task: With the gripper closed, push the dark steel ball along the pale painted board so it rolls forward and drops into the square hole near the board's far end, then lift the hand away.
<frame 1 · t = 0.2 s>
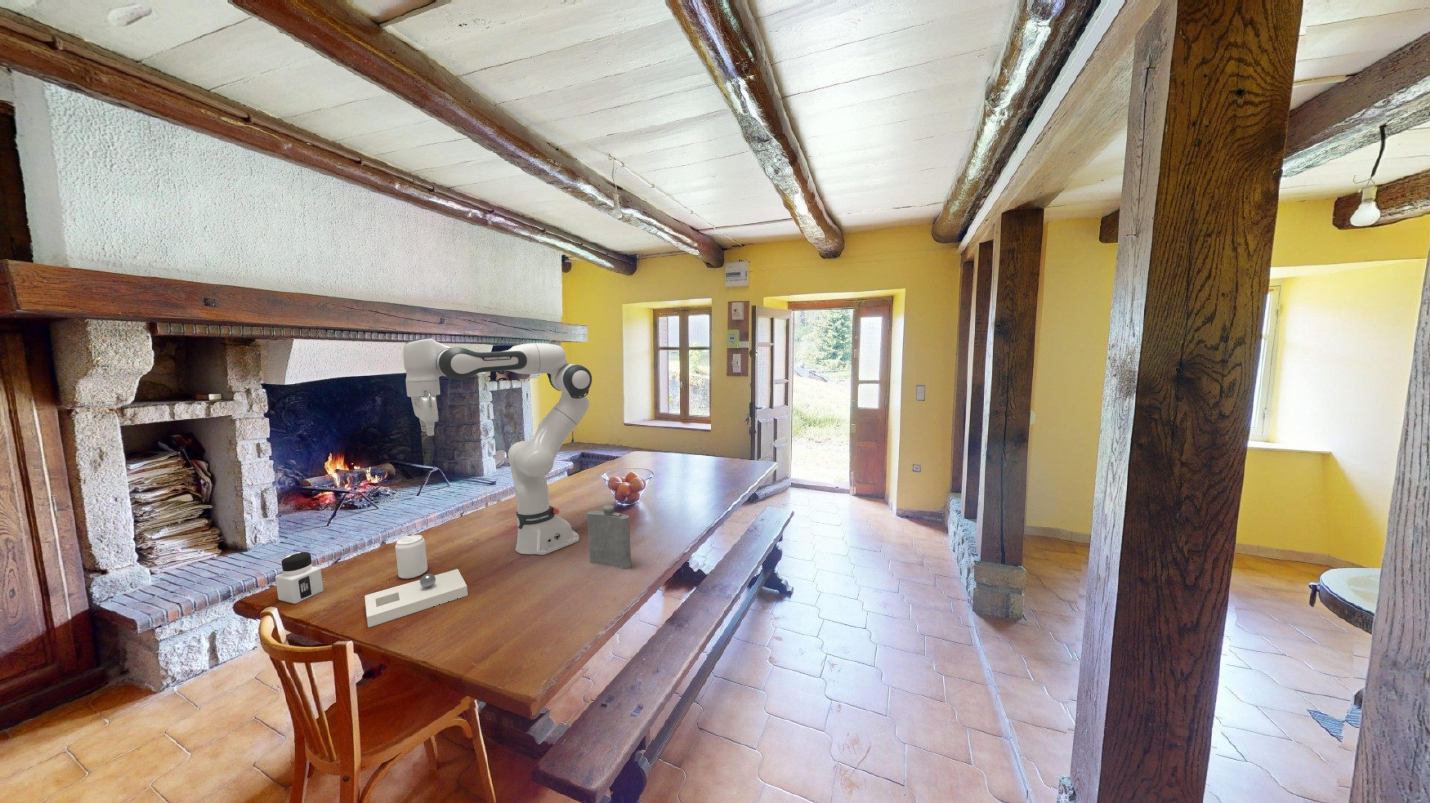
hand: (428, 433, 145), 47 cm above the table, tool pointing down, fingers open, 8 cm apart
container: (301, 596, 139), on the table
steel ball: (427, 580, 136), point 5 cm above the table, touching hole board
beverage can: (413, 574, 151), on the table
hip flask: (611, 563, 156), on the table
hole board: (417, 600, 135), on the table
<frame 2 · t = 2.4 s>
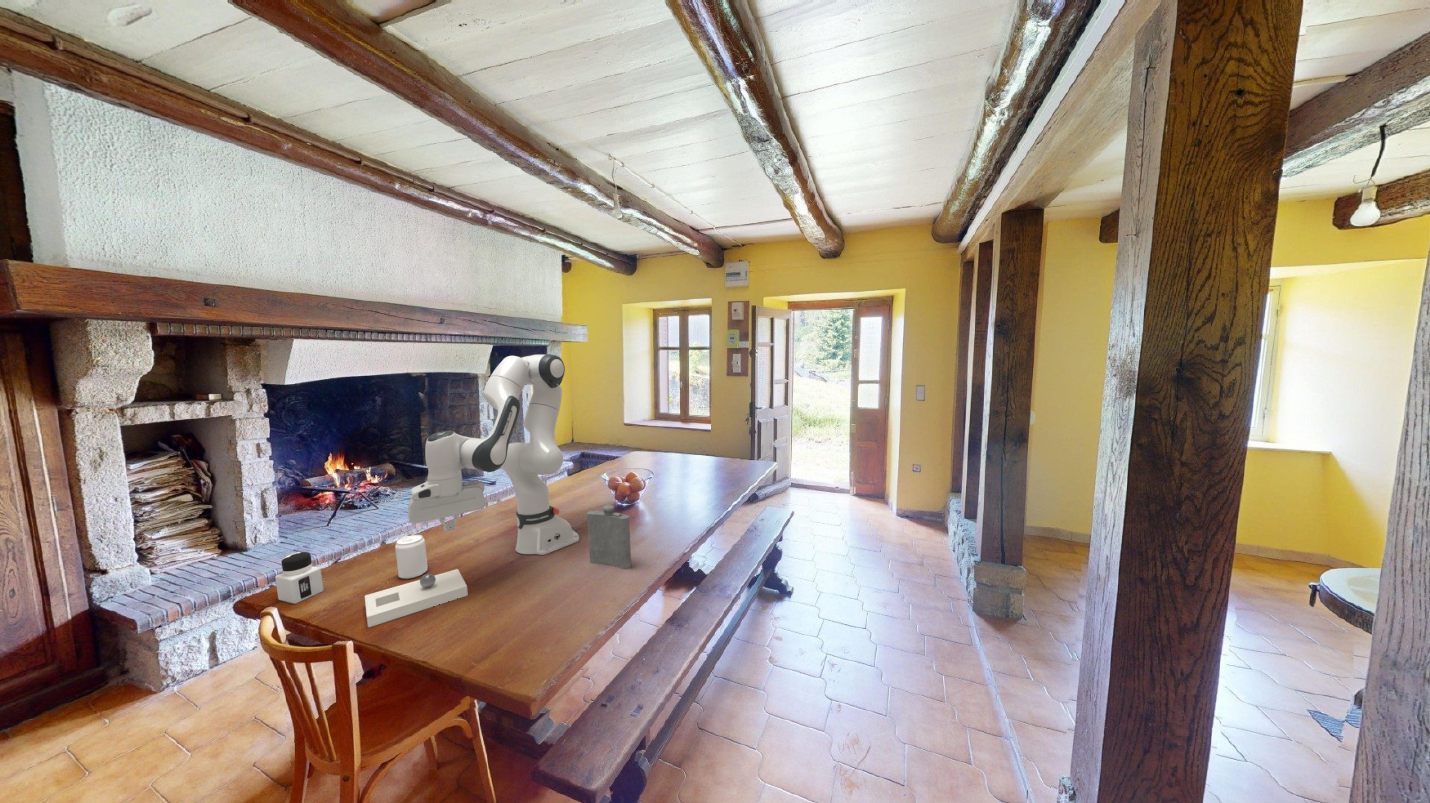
hand: (450, 529, 139), 19 cm above the table, tool pointing down, fingers closed
nothing on the table moved.
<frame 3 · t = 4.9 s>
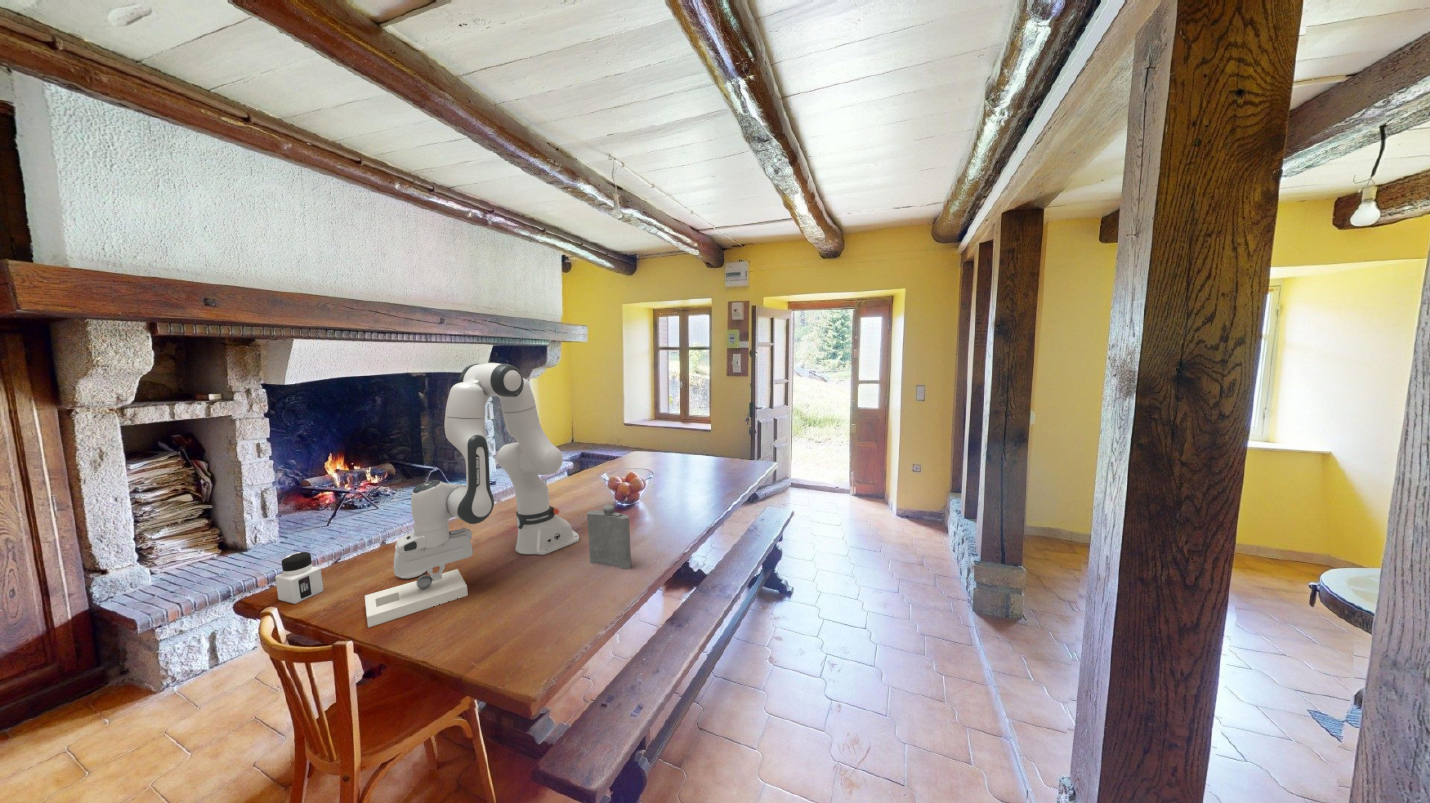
hand: (436, 579, 138), 5 cm above the table, tool pointing down, fingers closed
steel ball: (424, 581, 136), point 5 cm above the table, tilted 26°, touching gripper, hole board
everything else where it was.
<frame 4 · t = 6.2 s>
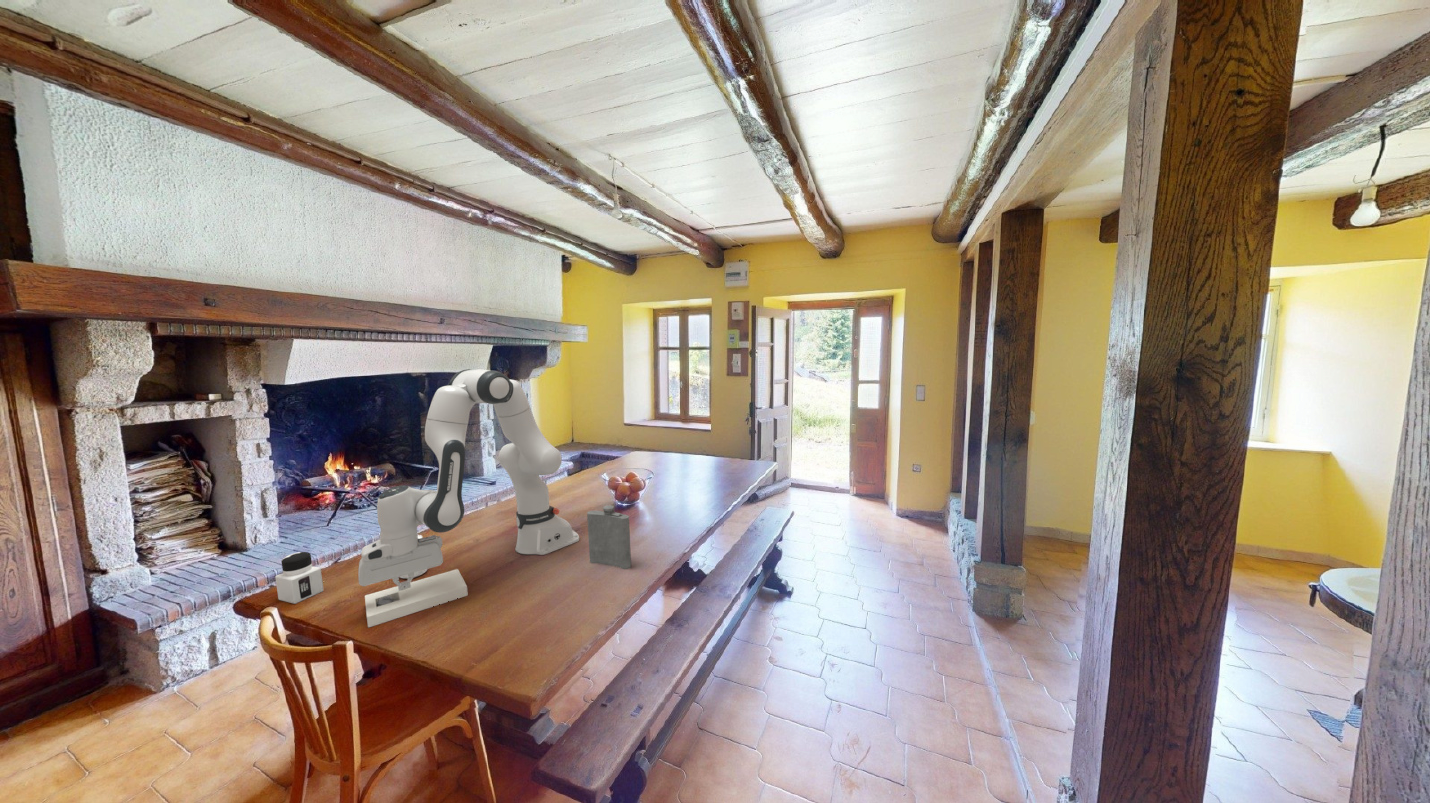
hand: (404, 588, 133), 5 cm above the table, tool pointing down, fingers closed
steel ball: (385, 603, 130), point 2 cm above the table, tilted 22°
everything else where it was.
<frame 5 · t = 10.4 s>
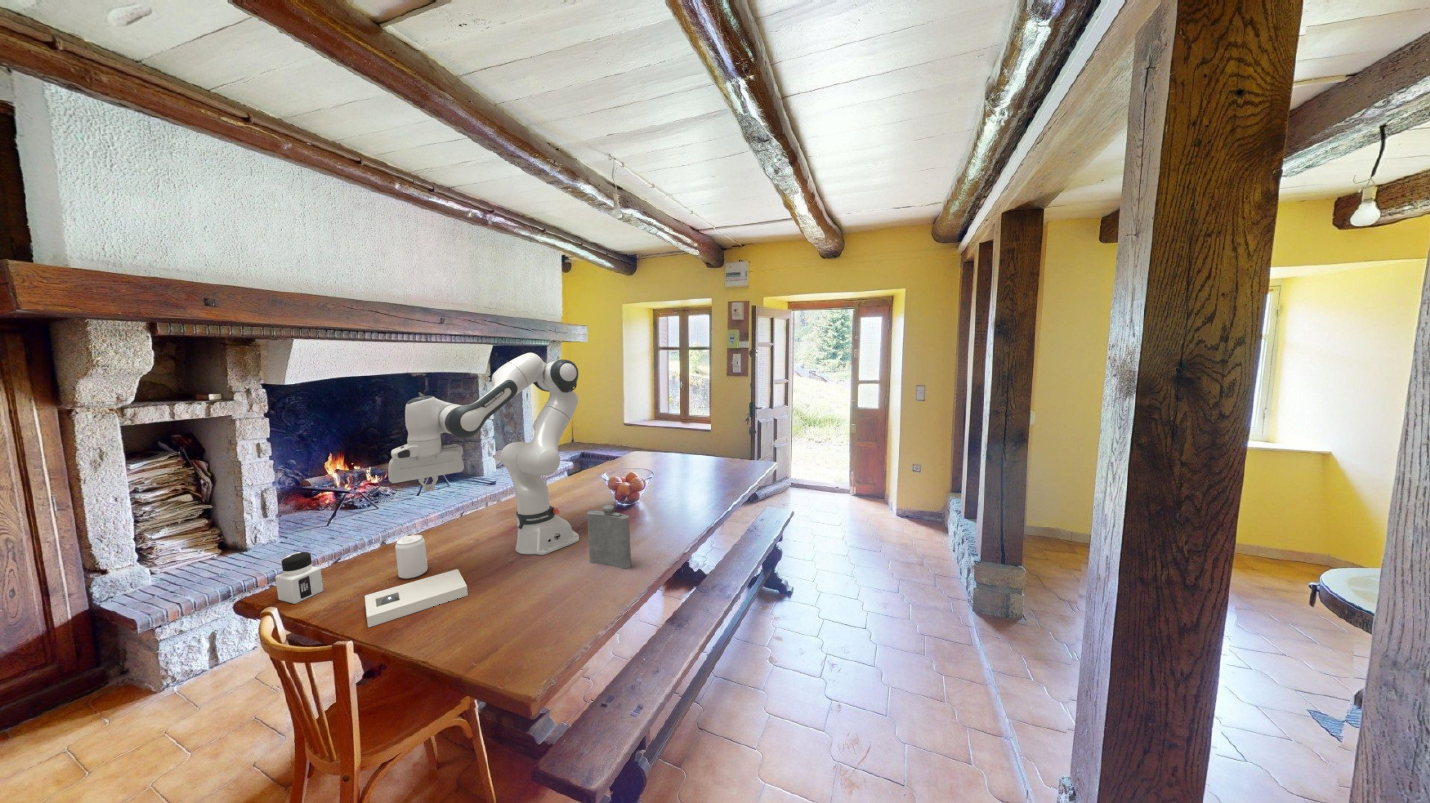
hand: (429, 490, 145), 29 cm above the table, tool pointing down, fingers closed
steel ball: (389, 602, 131), point 2 cm above the table, tilted 51°
everything else where it was.
at the end: steel ball 0.4 cm from the target spot on the hole board, point 2.0 cm above the hole board's base; steel ball moved 10.1 cm from its start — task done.
